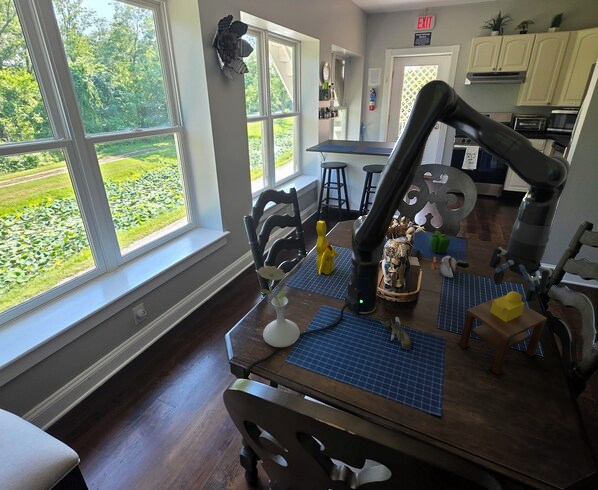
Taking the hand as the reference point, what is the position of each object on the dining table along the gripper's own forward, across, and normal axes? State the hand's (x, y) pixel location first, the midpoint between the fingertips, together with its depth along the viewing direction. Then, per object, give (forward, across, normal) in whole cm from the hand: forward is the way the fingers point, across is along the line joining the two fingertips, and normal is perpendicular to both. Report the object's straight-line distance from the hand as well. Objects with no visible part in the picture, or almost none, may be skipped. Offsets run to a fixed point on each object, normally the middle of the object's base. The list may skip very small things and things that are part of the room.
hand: (512, 292), depth 86 cm
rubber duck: (+7, 0, 0) cm, 7 cm away
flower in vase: (+21, -33, -55) cm, 67 cm away
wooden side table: (+20, 0, 0) cm, 20 cm away
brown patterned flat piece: (+21, -59, +12) cm, 64 cm away
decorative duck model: (+20, -34, +21) cm, 45 cm away
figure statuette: (+21, -61, -23) cm, 68 cm away
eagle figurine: (+21, -16, -23) cm, 35 cm away
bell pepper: (+20, -52, +32) cm, 65 cm away
